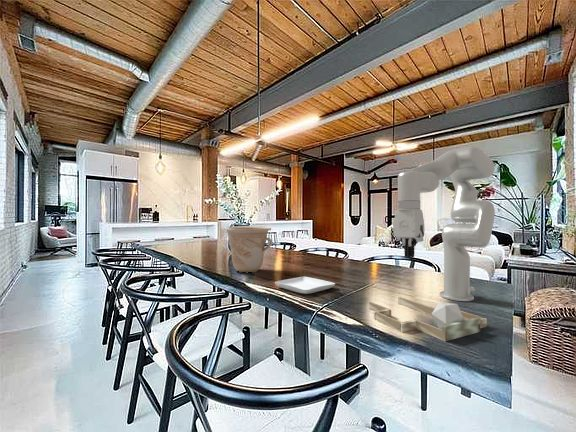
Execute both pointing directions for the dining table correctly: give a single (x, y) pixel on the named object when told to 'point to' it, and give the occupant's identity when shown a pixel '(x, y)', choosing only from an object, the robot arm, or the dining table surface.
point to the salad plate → (305, 285)
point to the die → (447, 314)
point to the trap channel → (445, 334)
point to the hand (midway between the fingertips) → (409, 256)
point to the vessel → (248, 246)
